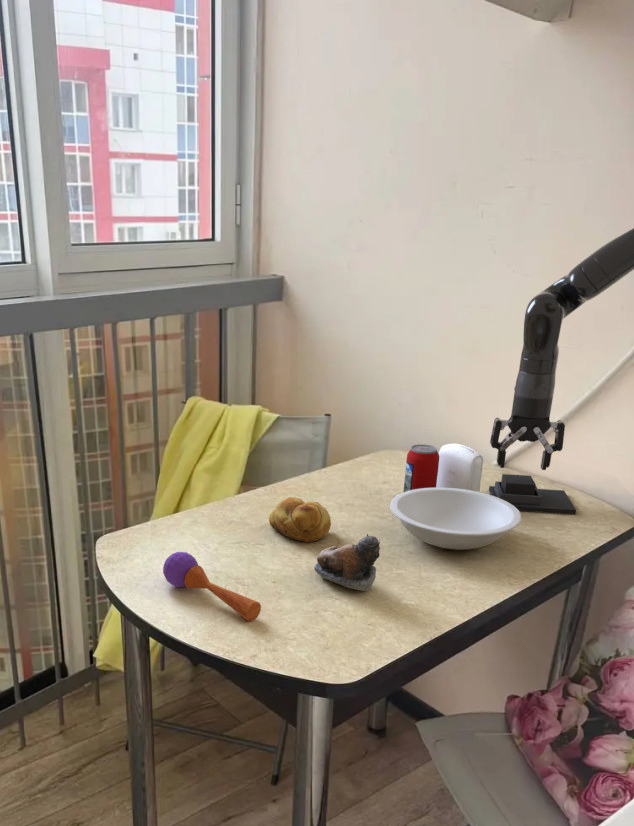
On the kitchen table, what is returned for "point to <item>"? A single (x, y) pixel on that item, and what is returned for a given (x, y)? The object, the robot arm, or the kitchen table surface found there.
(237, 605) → the purple toy maraca
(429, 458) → the beverage can
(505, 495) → the base pad
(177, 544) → the kitchen table surface
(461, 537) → the soup bowl
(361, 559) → the bison figurine
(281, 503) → the bread roll
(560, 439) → the robot arm
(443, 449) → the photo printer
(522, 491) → the black block
